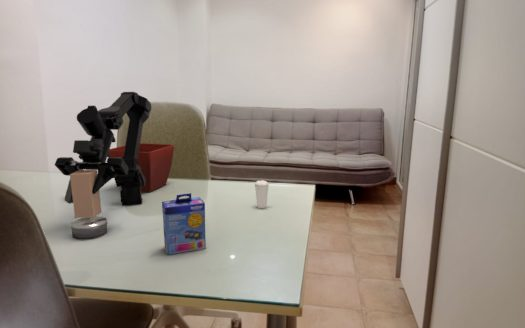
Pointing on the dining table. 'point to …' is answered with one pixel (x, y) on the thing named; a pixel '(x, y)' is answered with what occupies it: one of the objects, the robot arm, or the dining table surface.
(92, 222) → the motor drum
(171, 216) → the ink cartridge box
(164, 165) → the plant pot
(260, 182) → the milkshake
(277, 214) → the dining table surface
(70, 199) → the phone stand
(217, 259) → the dining table surface
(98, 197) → the tan rectangular block
